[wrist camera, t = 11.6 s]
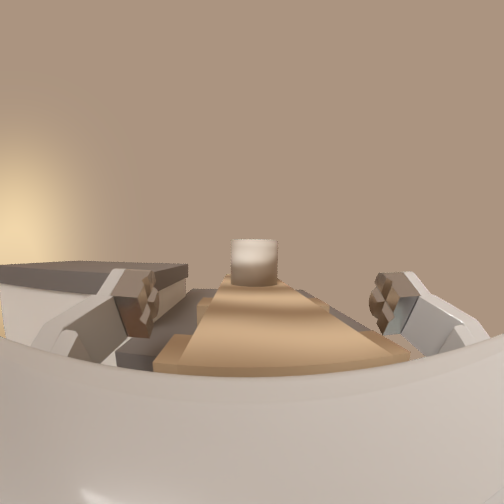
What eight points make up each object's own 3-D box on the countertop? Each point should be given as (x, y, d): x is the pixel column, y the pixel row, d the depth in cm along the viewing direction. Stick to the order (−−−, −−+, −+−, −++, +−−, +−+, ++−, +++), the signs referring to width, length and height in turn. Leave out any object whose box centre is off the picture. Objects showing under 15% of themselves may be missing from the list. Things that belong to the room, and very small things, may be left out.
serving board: (393, 422, 5) (419, 216, 5) (163, 438, 5) (149, 206, 5) (276, 294, 27) (277, 244, 27) (221, 294, 27) (221, 243, 27)
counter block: (323, 558, 10) (409, 281, 10) (67, 527, 9) (-34, 266, 9) (290, 446, 31) (303, 263, 31) (122, 435, 29) (99, 259, 29)
